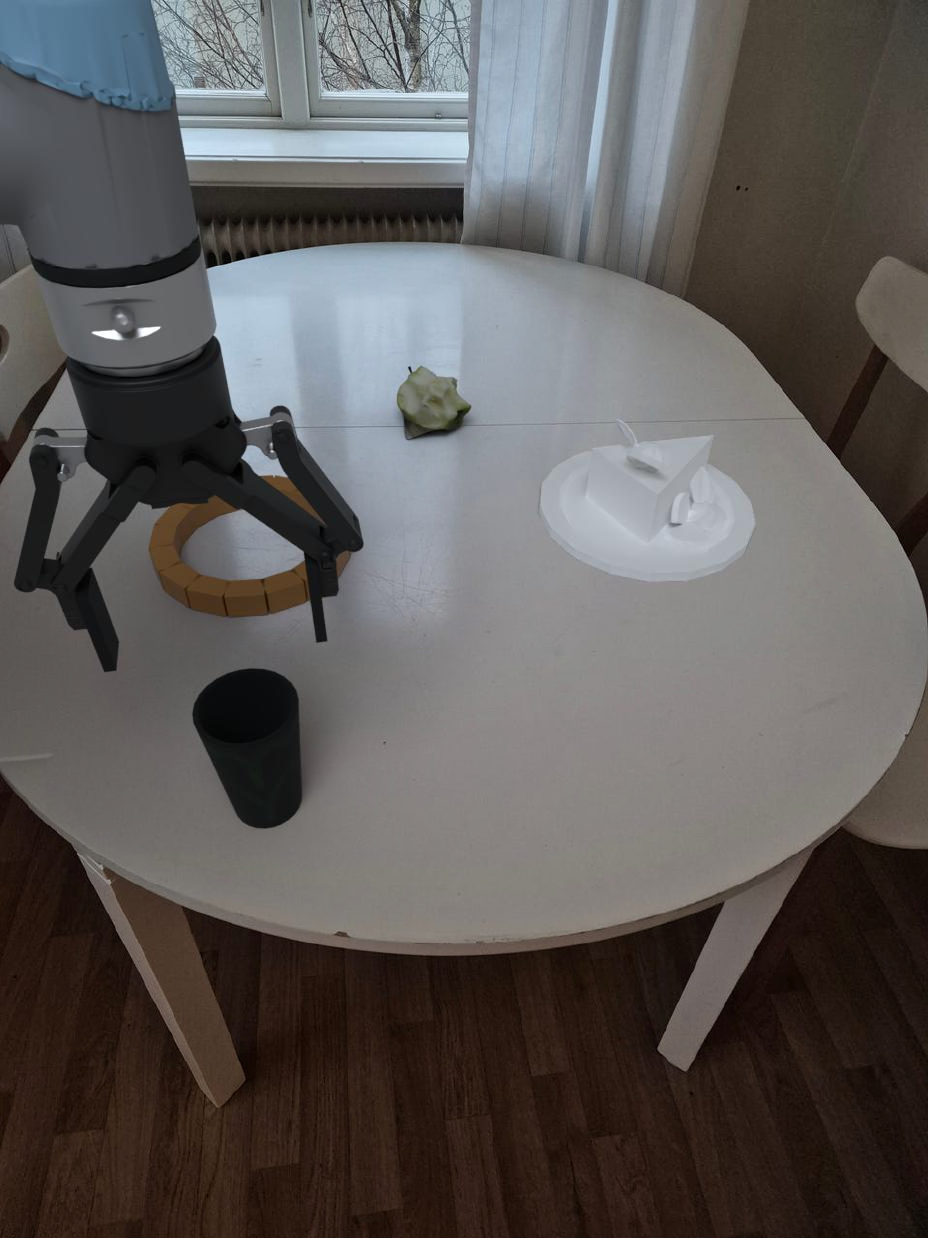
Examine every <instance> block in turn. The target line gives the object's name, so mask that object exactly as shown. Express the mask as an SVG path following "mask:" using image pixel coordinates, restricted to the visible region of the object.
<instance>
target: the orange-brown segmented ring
mask: <svg viewBox="0 0 928 1238" xmlns="http://www.w3.org/2000/svg"><path fill="white" fill-rule="evenodd" d="M259 476H260V477H261V478H263V479H264V480H265V481H267V482H268V483H270V484H271V485H272V486H274V487H275V488H276V489H278V490H279V491H280V492H282V493H283V494H284V495H286V496H287V497H288V498H290V499H291V500H292V501H294V502H295V503H297V504H298V505H299V506H301V507H302V508H303V509H305V510H306V511H307V512H309V513H310V514H311V515H313V516H314V517H315V518H317V519H318V520H319V521H321V522H322V523H323V524H325V523H324V522H323V520H322V519H321V518H320V517H319V515H318V514H317V513H316V512H315V510H314V509H313V508H312V507H311V505H310V504H309V503H308V502H307V500H306V499H305V498H304V497H303V495H302V494H301V493H300V492H299V490H298V489H297V488H296V487H295V485H294V484H293V483H292V482H291V480H290V479H289V478H288V477H287V476H282V475H277V474H276V475H273V474H268V475H267V474H265V475H259ZM240 510H241V509H239V510H238V509H235V508H233V507H232V506H230V505H229V504H227V503H226V502H225V501H223V500H222V499H220V498H219V497H217V496H216V495H215V496H214V497H212V498H210V499H208V503H204V504H184V503H178V504H175V505H172V506H169V507H167V508H166V510H165V511H164V512H163V513H162V515H161V516H160V517H159V518H158V519H157V520H156V521H155V523H154V525H153V526H152V531H151V535H150V539H149V542H148V543H149V544H148V553H149V557H150V560H151V563H152V568H153V570H154V572H155V573H156V574H155V575H156V577H157V579H158V581H159V583H160V585H161V587H162V589H163V590H162V591H164V592H165V593H166V594H167V595H169V596H170V597H172V598H173V599H175V601H178V602H179V603H181V604H182V605H184V606H185V607H187V608H188V609H191V610H193V611H197V612H201V613H207V614H210V615H215V616H220V617H224V618H227V617H228V618H240V617H241V618H242V617H253V616H254V617H255V616H268V615H269V614H270V615H273V614H275V613H279V612H281V611H284V610H288V609H290V608H293V607H296V606H300V605H303V604H304V603H305V604H306V603H307V601H308V602H310V595H309V588H308V581H307V574H306V566H305V559H304V560H303V561H301V562H300V563H299V564H297V565H295V566H294V567H293V568H291V569H288V570H284V571H281V572H279V573H275V574H272V575H270V576H266V577H263V578H252V579H249V578H248V579H233V580H231V579H230V580H229V579H223V578H219V577H215V576H210V575H204V574H201V573H199V572H198V571H196V570H195V569H193V568H192V567H191V566H189V565H188V564H186V563H185V562H183V561H182V560H181V558H180V557H181V551H182V548H183V547H182V546H184V544H185V543H186V542H187V541H188V540H189V538H190V537H191V535H193V533H194V532H195V531H196V530H197V529H198V528H200V527H201V526H203V525H205V524H207V523H209V522H210V521H211V520H214V519H216V518H217V517H219V516H222V515H226V514H230V513H233V512H237V511H240ZM325 525H326V524H325ZM326 526H327V525H326ZM351 553H352V552H349V551H345V552H343V553H341V554H340V555H338V557H337V559H336V561H337V565H336V567H337V576H338V578H339V577H340V575H341V574H342V572H343V571H344V569H345V567H346V565H347V564H348V563H349V561H350V559H351V555H352V554H351Z"/></svg>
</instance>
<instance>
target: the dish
mask: <svg viewBox="0 0 928 1238" xmlns="http://www.w3.org/2000/svg"><path fill="white" fill-rule="evenodd" d="M614 421H615V424H616V426H617V428H618V430H619V432H620V434H621V436H622V437H623V438H624V440H625V441H626V442H627V443H622V444H612V445H602V446H594V447H592V448H591V449H590V450H586V451H582V452H578V453H576V454H575V455H572V456H570V457H569V458H566V459H565V460H564V461H562V462H560V463H558V464H557V465H555V466H554V467H553V469H552V470H551V471H550V473H548V475H547V476H546V477H545V479H544V480H543V482H542V483H541V487H540V498H539V510H538V516H539V518H540V520H541V522H542V524H543V526H544V528H545V530H546V532H547V534H548V536H549V538H550V539H551V540H552V541H554V542H555V543H556V545H558V546H559V547H561V548H562V549H563V550H564V551H565V552H566V553H567V554H568V555H570V556H571V557H572V558H573V559H575V560H577V561H579V562H581V563H584V564H586V565H588V566H590V567H593V568H595V569H596V570H599V571H601V572H604V573H606V574H608V575H612V576H617V577H623V578H627V579H632V580H637V581H642V582H645V583H646V582H647V583H664V582H665V583H666V582H667V583H668V582H689V581H693V580H696V579H699V578H703V577H706V576H707V577H708V576H710V575H713V574H717V573H720V572H723V571H724V570H725V569H726V568H728V567H729V566H730V565H732V564H733V563H734V562H736V561H737V560H738V559H739V558H741V557H742V556H743V555H745V553H746V550H747V548H748V544H749V543H750V541H751V538H752V535H753V533H754V530H755V527H756V519H755V514H754V509H753V505H752V501H751V499H750V498H749V497H748V496H747V494H746V493H745V492H744V491H743V490H742V489H741V487H740V486H739V485H738V483H737V482H736V481H735V480H734V479H733V478H731V477H730V476H728V475H727V474H725V473H724V472H722V471H720V470H719V469H717V468H716V467H714V466H713V465H711V464H710V463H709V462H708V460H709V457H710V453H711V450H712V445H713V441H714V437H715V434H710V435H700V436H691V437H682V438H681V437H680V438H670V439H663V440H653V441H647V440H644V441H643V442H638V440H637V437H636V436H635V433H634V431H633V430H632V428H631V427H630V426H629V425H628V424H627V423H626V422H624V421H622V420H621V419H619V418H615V419H614Z"/></svg>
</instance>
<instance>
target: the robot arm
mask: <svg viewBox="0 0 928 1238" xmlns="http://www.w3.org/2000/svg"><path fill="white" fill-rule="evenodd" d="M177 105H178V104H177V92H176V87H175V84H174V82H173V81H172V79H170V74H169V70H168V66H167V62H166V58H165V54H164V49H163V46H162V42H161V38H160V33H159V30H158V25H157V19H156V16H155V13H154V8H153V4H152V0H0V226H5V225H6V226H8V225H9V226H10V225H11V226H15V227H16V226H17V228H18V229H19V231H20V234H21V236H22V238H23V239H24V242H25V244H26V246H27V251H28V255H29V258H30V262H31V265H32V268H33V270H34V273H35V276H36V279H37V282H38V283H37V284H38V286H39V288H40V293H41V295H42V299H43V301H44V304H45V307H46V310H47V312H48V317H49V319H50V322H51V326H52V329H53V331H54V334H55V337H56V340H57V343H58V345H59V348H60V349H61V351H62V352H63V353H64V354H66V355H67V357H66V360H65V368H66V369H65V370H66V371H67V375H68V378H69V381H70V384H71V387H72V390H73V394H74V396H75V399H76V402H77V406H78V409H79V412H80V414H81V418H82V420H83V421H82V422H83V424H84V427H85V430H86V436H60V435H59V432H57V431H56V430H54V429H52V428H50V427H47V426H46V427H40V428H38V429H37V430H36V431H35V433H34V437H33V441H32V445H31V448H30V452H29V455H28V463H29V468H30V471H31V475H32V480H33V484H34V488H35V489H34V493H33V497H32V501H31V506H30V507H31V508H30V511H29V516H28V520H27V524H26V528H25V533H24V538H23V541H22V545H21V549H20V554H19V557H18V558H19V559H18V563H17V567H16V570H15V576H14V581H13V586H14V588H15V590H17V591H19V592H21V593H28V594H29V593H32V592H35V591H36V589H41V590H46V591H49V592H51V593H52V594H53V595H55V597H56V599H57V601H58V604H59V606H60V608H61V610H62V613H63V616H64V618H65V621H66V623H67V625H68V627H70V628H71V629H72V631H82V630H86V631H87V632H88V635H89V638H90V640H91V643H92V645H93V648H94V650H95V652H96V655H97V658H98V660H99V663H100V665H101V668H102V670H103V673H110V672H117V671H118V659H119V648H120V640H119V637H118V634H117V632H116V628H115V626H114V624H113V621H112V618H111V615H110V612H109V609H108V607H107V605H106V602H105V599H104V596H103V594H102V591H101V588H100V585H99V583H98V580H97V577H96V575H95V572H94V569H93V567H92V564H93V563H94V562H95V561H96V559H97V557H98V556H99V555H100V553H101V552H102V551H103V549H104V547H105V546H106V544H107V543H109V540H110V539H111V538H112V536H113V535H114V533H115V532H116V530H117V529H118V528H119V526H120V525H121V523H125V522H126V521H127V519H128V517H129V516H130V514H131V513H132V512H133V511H134V509H135V508H136V506H137V505H138V503H140V504H143V505H147V506H150V507H151V510H157V509H167V508H169V507H170V506H172V505H175V504H178V503H184V504H204V503H208V499H210V498H212V497H214V496H215V495H216V496H217V497H219V498H220V499H222V500H223V501H225V502H226V503H227V504H229V505H230V506H232V507H233V508H235V509H238V510H237V511H240V510H244V512H246V513H247V514H249V515H250V516H252V517H254V519H256V520H258V521H259V522H260V523H262V524H263V525H264V526H266V527H268V528H269V529H270V530H272V531H273V532H274V533H276V534H278V536H280V537H282V538H283V539H285V540H286V541H288V542H289V543H290V544H292V545H293V546H295V547H296V548H298V549H299V550H301V551H302V552H303V558H304V560H305V566H306V574H307V581H308V588H309V595H310V601H309V602H310V608H311V616H312V622H313V629H314V637H315V643H316V644H320V643H326V642H328V635H327V626H326V619H325V611H324V603H323V598H330V597H337V596H338V593H339V591H340V586H339V577H338V576H337V567H336V565H337V561H336V559H337V557H338V555H340V554H341V553H343V552H345V551H349V552H351V553H357V552H360V551H361V550H362V549H363V547H364V538H363V533H362V528H361V525H360V521H359V517H358V516H357V514H356V513H355V512H354V511H353V509H352V508H351V507H350V505H349V504H348V503H347V501H346V500H345V498H343V496H342V495H341V493H340V492H339V491H338V489H337V488H336V486H335V485H334V484H333V483H332V481H331V480H330V479H329V477H328V476H327V474H326V473H325V472H324V471H323V470H322V468H321V467H320V465H319V464H318V462H316V460H315V459H314V458H313V456H312V455H311V454H310V452H309V451H308V450H307V448H306V447H305V446H304V444H303V443H302V442H301V440H300V439H299V437H298V435H297V430H296V426H295V423H294V420H293V416H292V415H293V414H292V412H291V410H290V409H289V408H288V407H287V406H285V405H275V406H273V407H272V408H271V409H270V411H269V416H266V417H260V418H256V419H250V420H245V421H242V420H241V419H240V417H238V415H237V414H236V413H235V410H234V408H233V404H232V399H231V393H230V388H229V384H228V379H227V373H226V367H225V362H224V357H223V353H222V351H223V350H222V346H221V343H220V341H219V339H218V337H216V336H215V335H214V334H215V333H216V330H217V319H216V314H215V308H214V302H213V297H212V292H211V287H210V281H209V275H208V271H207V264H206V259H205V254H204V248H203V247H202V243H201V238H200V234H199V229H198V224H197V223H198V222H197V217H196V212H195V211H196V210H195V206H194V199H193V193H192V188H191V183H190V176H189V170H188V165H187V159H186V154H185V147H184V142H183V136H182V131H181V130H182V129H181V125H180V124H181V123H180V119H179V112H178V106H177ZM248 446H253V447H257V448H258V449H260V451H261V452H262V454H263V455H264V456H265V457H267V458H268V459H269V460H272V461H273V460H274V461H275V460H277V461H278V463H279V466H280V467H281V469H282V471H283V473H284V474H285V475H286V477H288V478H289V479H290V480H291V482H292V483H293V484H294V485H295V487H296V488H297V489H298V490H299V492H300V493H301V494H302V495H303V497H304V498H305V499H306V500H307V502H308V503H309V504H310V505H311V507H312V508H313V509H314V510H315V512H316V513H317V514H318V515H319V517H320V518H321V519H322V520H323V522H324V523H325V524H326V525H327V526H326V525H325V524H323V523H322V522H321V521H319V520H318V519H317V518H315V517H314V516H313V515H311V514H310V513H309V512H307V511H306V510H305V509H303V508H302V507H301V506H299V505H298V504H297V503H295V502H294V501H292V500H291V499H290V498H288V497H287V496H286V495H284V494H283V493H282V492H280V491H279V490H278V489H276V488H275V487H274V486H272V485H271V484H270V483H268V482H267V481H265V480H264V479H263V478H261V477H260V476H261V475H259V474H257V472H255V471H254V469H253V467H252V466H251V465H250V464H249V463H248V462H247V461H246V460H245V459H243V456H244V454H246V451H247V449H248ZM82 463H87V464H88V466H89V467H90V468H91V469H92V470H94V471H96V472H97V473H98V474H99V475H101V476H102V477H104V478H105V479H106V481H105V484H104V486H103V489H102V490H101V491H100V493H99V494H98V496H97V498H96V499H95V501H94V502H93V503H92V505H91V506H90V507H89V509H88V511H87V512H86V513H85V515H84V517H83V518H82V520H81V521H80V523H79V524H78V526H77V527H76V529H75V530H74V532H73V533H72V535H71V536H70V538H69V539H68V541H67V542H66V544H65V545H64V546H63V548H62V550H61V551H57V552H56V556H55V559H54V558H46V557H45V556H46V552H47V548H48V543H49V540H50V536H51V532H52V528H53V523H54V520H55V516H56V513H57V508H58V504H59V499H60V495H61V489H62V484H63V483H65V482H67V481H68V480H70V479H72V478H73V477H75V475H76V471H77V467H78V466H79V465H80V464H82ZM239 509H240V510H239Z"/></svg>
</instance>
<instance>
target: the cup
mask: <svg viewBox="0 0 928 1238" xmlns="http://www.w3.org/2000/svg"><path fill="white" fill-rule="evenodd" d="M195 699H196V700H195V701H194V703H193V707H192V711H191V716H192V724H193V726H194V728H195V730H196V732H197V734H198V736H199V738H200V741H201V743H202V745H203V746H204V749H205V751H206V753H207V755H208V757H209V760H210V761H211V764H212V765H213V768H214V771H215V773H216V774H217V776H218V779H219V780H220V783H221V785H222V787H223V789H224V791H225V793H226V796H227V797H228V799H229V802H230V804H231V806H232V808H233V810H234V813H235V815H236V816H237V818H238V819H239V820H240V821H241V823H243V824H245V825H247V826H249V827H251V828H255V829H270V828H275V827H278V826H280V825H283V824H285V823H286V822H288V821H289V820H291V818H293V816H295V815H296V813H297V812H298V810H299V809H300V806H301V804H302V798H303V787H302V784H303V783H302V757H301V756H302V755H301V729H300V728H301V727H300V726H301V725H300V724H301V723H300V699H299V694H298V691H297V689H296V688H295V686H294V684H293V683H292V681H290V680H289V678H287V677H286V676H284V675H282V674H281V673H279V672H277V671H274V670H270V669H266V668H257V667H256V668H255V667H249V668H241V669H236V670H233V671H230V672H227V673H225V674H223V675H220V676H219V677H217V678H215V679H213V680H212V681H211V682H210V683H209V684H207V685H206V686H205V687H204V688H203V689H202V690H201V691H200V693H199V694H198V695H197V698H195Z"/></svg>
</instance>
